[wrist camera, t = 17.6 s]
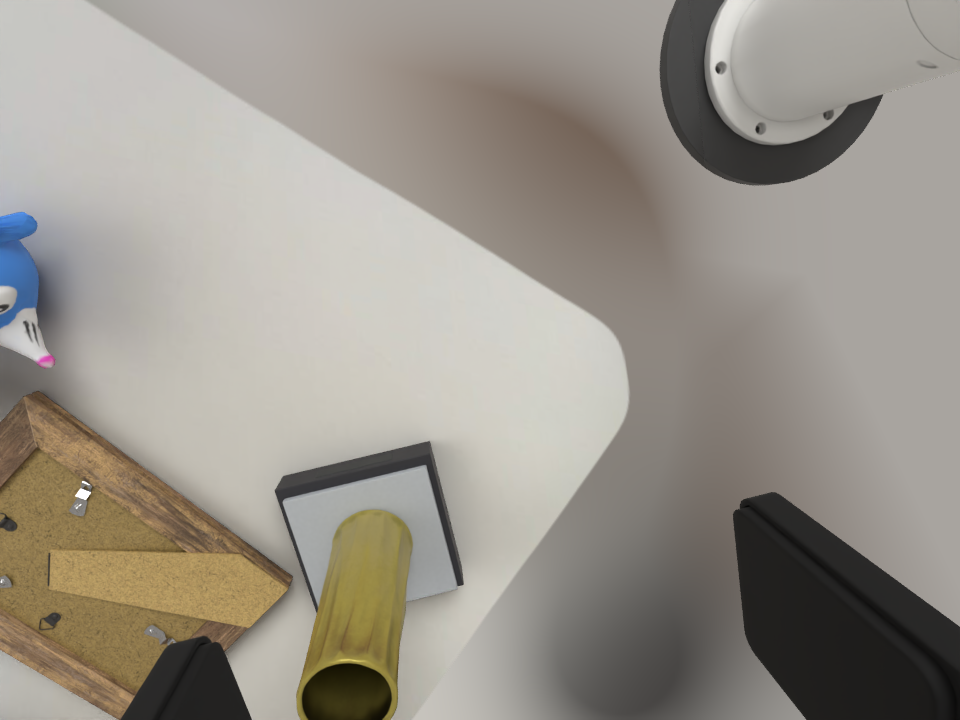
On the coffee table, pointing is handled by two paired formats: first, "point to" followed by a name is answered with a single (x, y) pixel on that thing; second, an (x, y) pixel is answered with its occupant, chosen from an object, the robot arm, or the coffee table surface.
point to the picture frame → (110, 561)
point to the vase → (358, 622)
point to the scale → (367, 486)
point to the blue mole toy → (20, 291)
